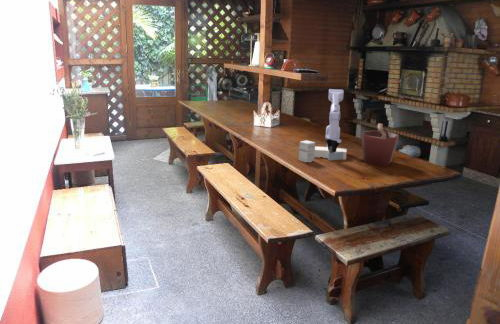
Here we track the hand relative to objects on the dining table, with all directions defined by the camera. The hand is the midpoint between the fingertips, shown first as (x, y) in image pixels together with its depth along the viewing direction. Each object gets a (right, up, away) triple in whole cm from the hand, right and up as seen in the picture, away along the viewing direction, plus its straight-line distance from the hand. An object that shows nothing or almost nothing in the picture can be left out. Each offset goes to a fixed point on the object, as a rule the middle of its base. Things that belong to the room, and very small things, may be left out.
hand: (332, 151), depth 263 cm
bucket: (+29, -7, +1) cm, 30 cm away
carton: (0, -3, +13) cm, 13 cm away
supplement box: (-16, -6, 0) cm, 18 cm away
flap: (+3, -5, +3) cm, 7 cm away
